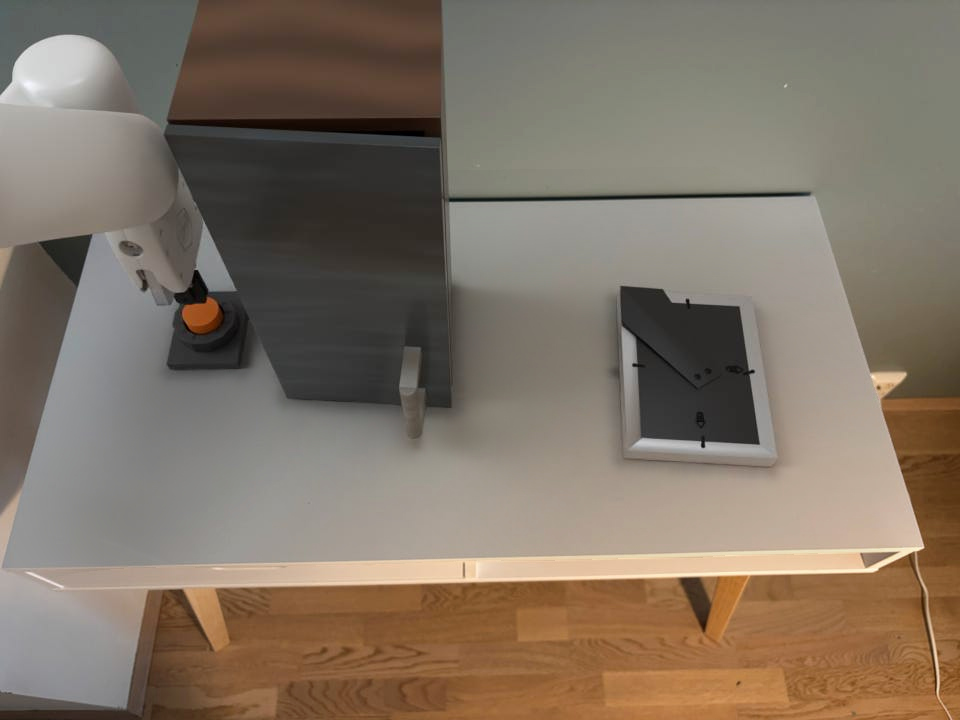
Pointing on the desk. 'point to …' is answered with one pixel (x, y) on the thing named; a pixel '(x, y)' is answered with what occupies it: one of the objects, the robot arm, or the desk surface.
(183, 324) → the control block
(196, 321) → the button
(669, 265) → the desk surface
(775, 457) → the picture frame
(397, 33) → the cupboard
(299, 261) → the cupboard door
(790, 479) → the desk surface
